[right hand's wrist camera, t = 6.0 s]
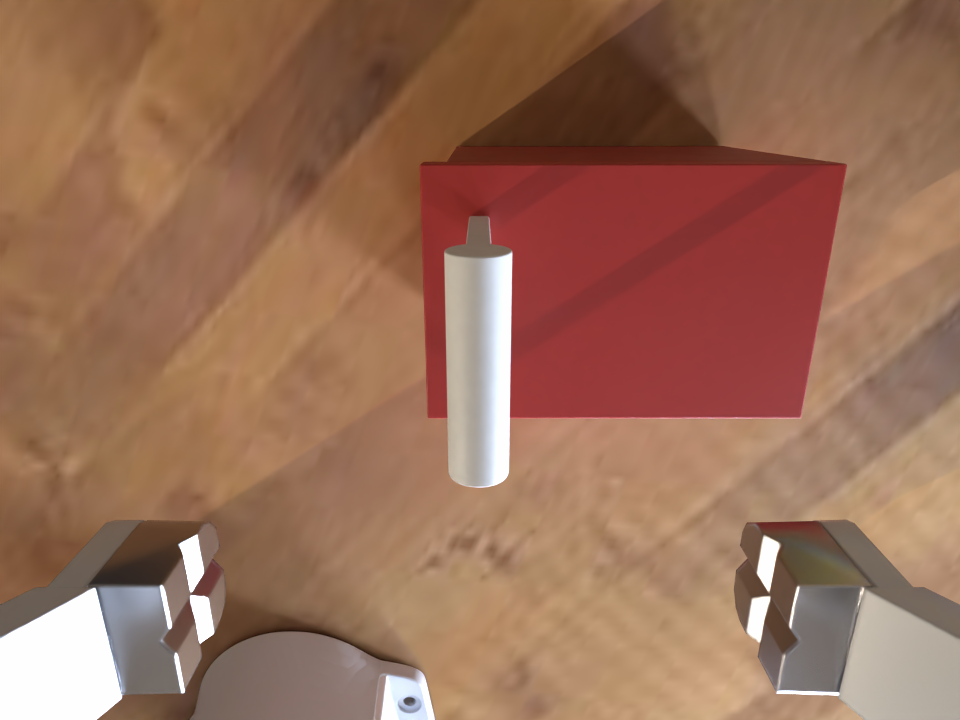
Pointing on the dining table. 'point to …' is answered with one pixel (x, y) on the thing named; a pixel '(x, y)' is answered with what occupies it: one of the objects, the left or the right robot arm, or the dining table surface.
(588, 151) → the chest
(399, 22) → the dining table surface
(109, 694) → the right robot arm
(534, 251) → the lid
